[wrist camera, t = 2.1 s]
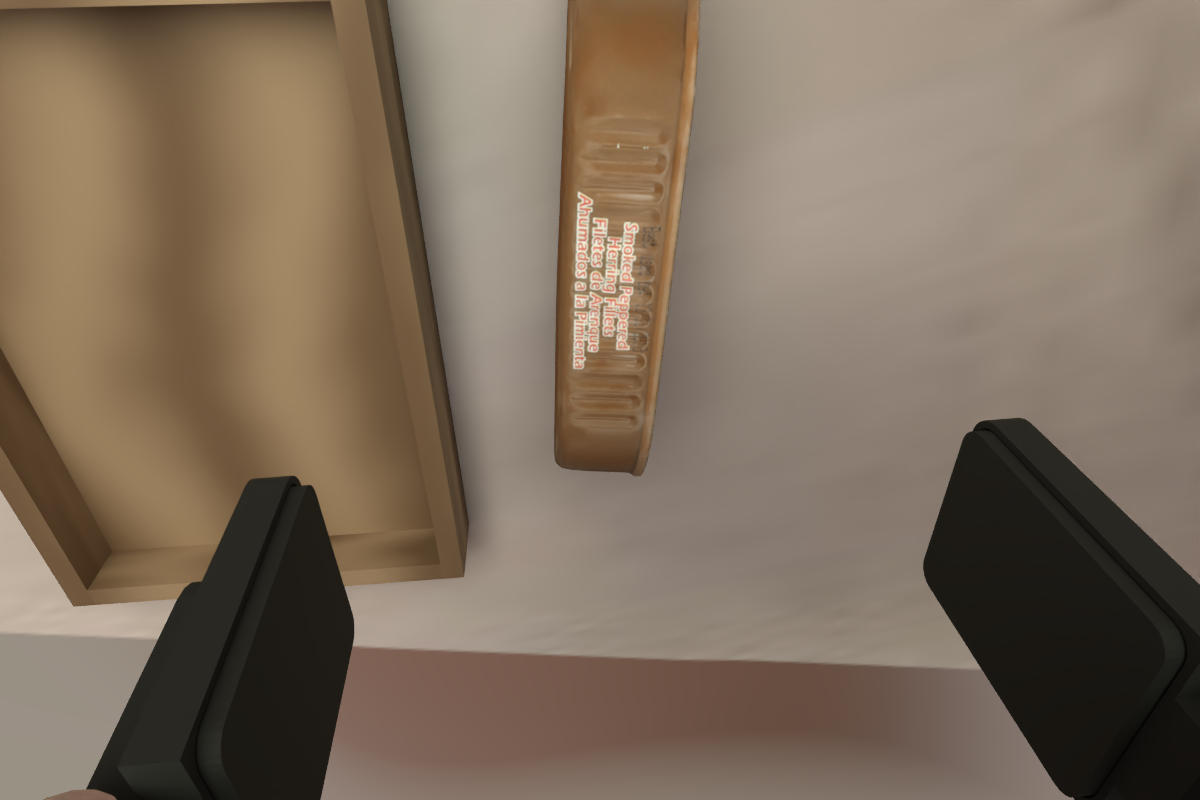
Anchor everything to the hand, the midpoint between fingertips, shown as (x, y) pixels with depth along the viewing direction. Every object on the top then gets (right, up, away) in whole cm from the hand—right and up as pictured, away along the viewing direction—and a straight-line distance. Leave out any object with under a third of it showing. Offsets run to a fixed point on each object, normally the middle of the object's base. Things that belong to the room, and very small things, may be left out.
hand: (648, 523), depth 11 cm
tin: (-1, +9, +13) cm, 16 cm away
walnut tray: (-14, +5, +14) cm, 20 cm away
